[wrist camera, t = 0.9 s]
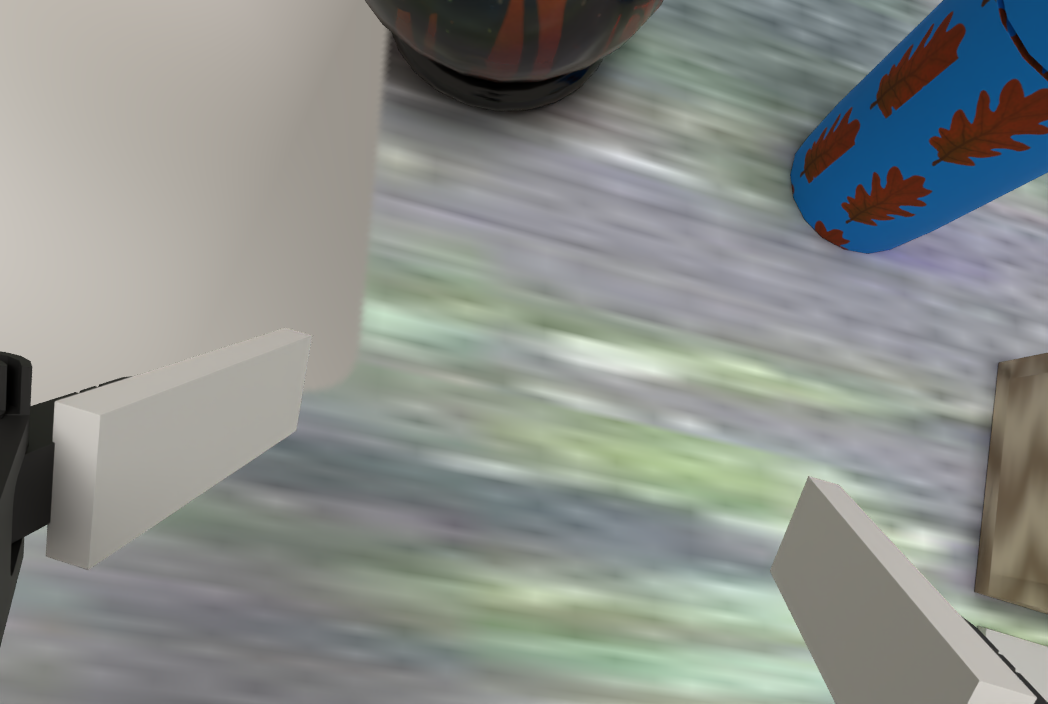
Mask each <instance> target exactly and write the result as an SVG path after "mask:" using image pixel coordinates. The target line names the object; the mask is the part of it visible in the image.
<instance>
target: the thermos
mask: <svg viewBox="0 0 1048 704" xmlns="http://www.w3.org/2000/svg"><path fill="white" fill-rule="evenodd" d="M1047 172H1048V0H943V1H942V2H941V3H940V4H939V5H938V6H937V7H936V8H935V9H934V10H933V11H932V12H931V13H930V14H929V15H928V16H927V17H926V18H925V19H924V20H923V21H922V22H921V23H920V24H919V25H918V26H917V27H916V28H915V29H914V30H913V31H912V32H911V33H910V34H909V35H908V36H906V37H905V38H904V39H903V40H902V41H901V42H900V43H899V44H898V45H897V46H896V47H895V48H894V49H893V50H892V51H891V52H890V53H889V54H888V55H887V56H886V57H885V58H884V59H883V60H882V61H881V62H880V63H879V64H878V65H877V66H876V67H875V68H874V69H873V70H872V71H871V72H870V73H869V74H868V75H867V76H866V77H865V78H864V79H863V80H862V81H861V82H860V83H859V84H858V85H857V86H856V87H855V88H853V89H852V90H851V91H850V92H849V93H848V94H847V95H846V96H845V97H844V98H843V99H842V100H841V101H840V102H839V103H838V104H837V105H836V106H835V108H834V109H833V110H832V111H831V112H830V113H829V114H828V115H827V116H826V118H825V119H824V120H823V121H822V122H821V123H820V124H819V125H818V126H817V128H816V129H815V130H814V131H813V132H812V133H811V134H810V135H809V137H808V138H807V139H806V140H805V142H804V143H803V144H802V146H801V147H800V148H799V150H798V151H797V152H796V154H795V158H794V162H793V166H792V170H791V174H790V176H791V183H792V190H793V197H794V200H795V202H796V203H797V205H798V207H799V209H800V211H801V213H802V215H803V217H804V219H805V220H806V221H807V222H808V223H809V224H810V225H811V226H812V228H813V229H814V230H815V231H816V232H817V233H818V234H819V235H820V236H821V237H822V238H824V239H826V240H828V241H830V242H832V243H833V244H835V245H837V246H839V247H841V248H843V249H845V250H851V251H856V252H862V253H874V252H879V251H885V250H890V249H892V248H895V247H897V246H899V245H902V244H904V243H906V242H909V241H911V240H913V239H915V238H918V237H920V236H922V235H925V234H927V233H929V232H932V231H934V230H936V229H938V228H940V227H942V226H944V225H946V224H948V223H949V222H951V221H953V220H955V219H957V218H959V217H961V216H963V215H965V214H967V213H969V212H971V211H973V210H975V209H977V208H979V207H981V206H983V205H985V204H987V203H989V202H991V201H993V200H995V199H996V198H998V197H1000V196H1002V195H1004V194H1006V193H1008V192H1010V191H1012V190H1014V189H1016V188H1018V187H1020V186H1022V185H1024V184H1026V183H1028V182H1030V181H1032V180H1034V179H1036V178H1038V177H1040V176H1042V175H1043V174H1045V173H1047Z"/></svg>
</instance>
